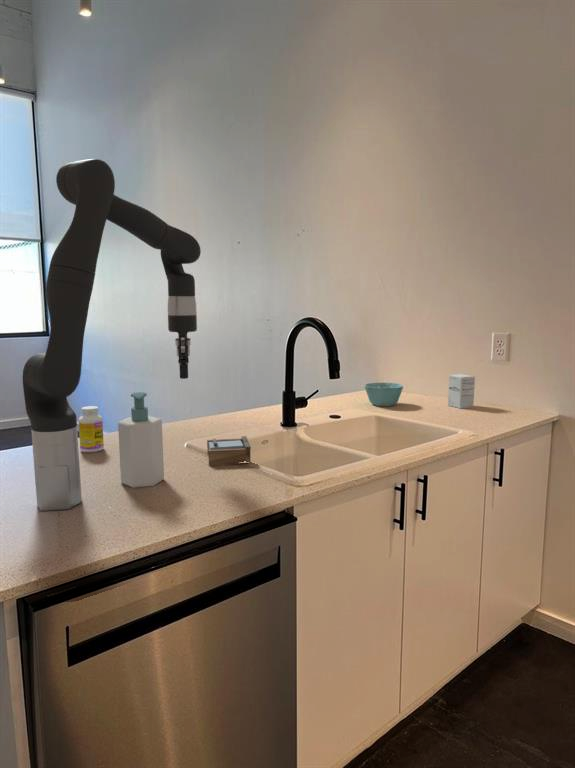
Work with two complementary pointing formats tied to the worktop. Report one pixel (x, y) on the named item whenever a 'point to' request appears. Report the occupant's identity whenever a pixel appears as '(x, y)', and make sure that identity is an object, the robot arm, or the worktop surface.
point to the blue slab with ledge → (225, 445)
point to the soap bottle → (141, 446)
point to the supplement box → (461, 391)
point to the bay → (229, 453)
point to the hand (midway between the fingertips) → (184, 378)
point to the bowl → (383, 393)
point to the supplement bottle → (91, 430)
